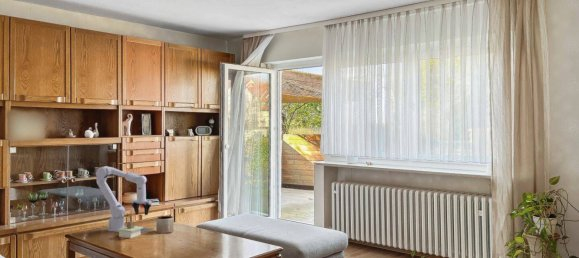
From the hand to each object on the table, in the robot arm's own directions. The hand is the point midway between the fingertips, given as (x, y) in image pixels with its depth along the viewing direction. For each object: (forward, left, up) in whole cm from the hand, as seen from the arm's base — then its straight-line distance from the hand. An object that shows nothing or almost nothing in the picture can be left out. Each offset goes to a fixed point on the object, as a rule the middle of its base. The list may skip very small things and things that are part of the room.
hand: (141, 214), depth 298 cm
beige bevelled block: (+5, -17, -10) cm, 21 cm away
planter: (+18, +1, -11) cm, 21 cm away
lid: (+5, -16, -6) cm, 18 cm away
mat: (+1, -2, -10) cm, 11 cm away
